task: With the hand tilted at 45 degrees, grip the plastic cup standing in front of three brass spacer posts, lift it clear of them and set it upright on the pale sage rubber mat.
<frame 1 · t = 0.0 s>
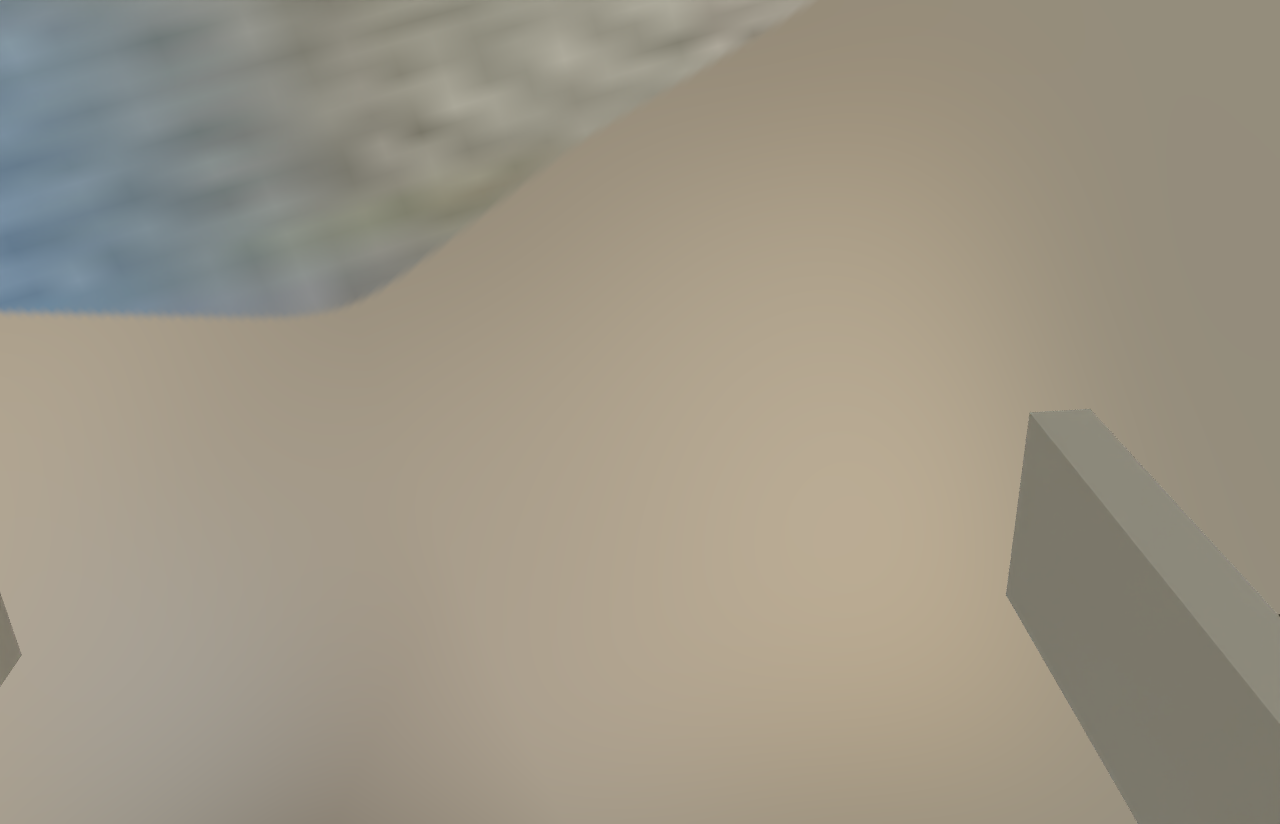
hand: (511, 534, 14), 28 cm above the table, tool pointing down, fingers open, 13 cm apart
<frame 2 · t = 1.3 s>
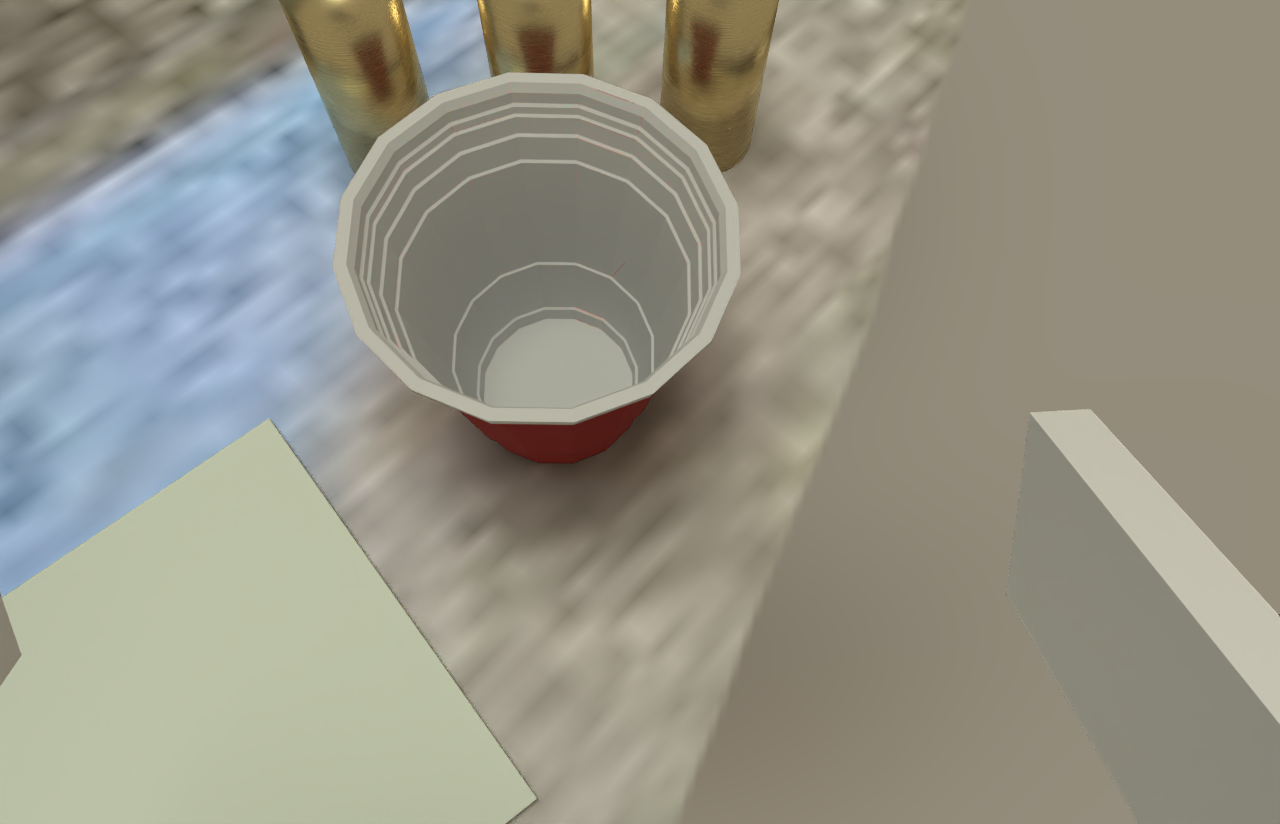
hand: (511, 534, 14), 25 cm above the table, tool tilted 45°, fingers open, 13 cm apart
plastic cup: (560, 384, 42), on the table
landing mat: (192, 751, 37), on the table
spacer posts: (549, 139, 44), on the table
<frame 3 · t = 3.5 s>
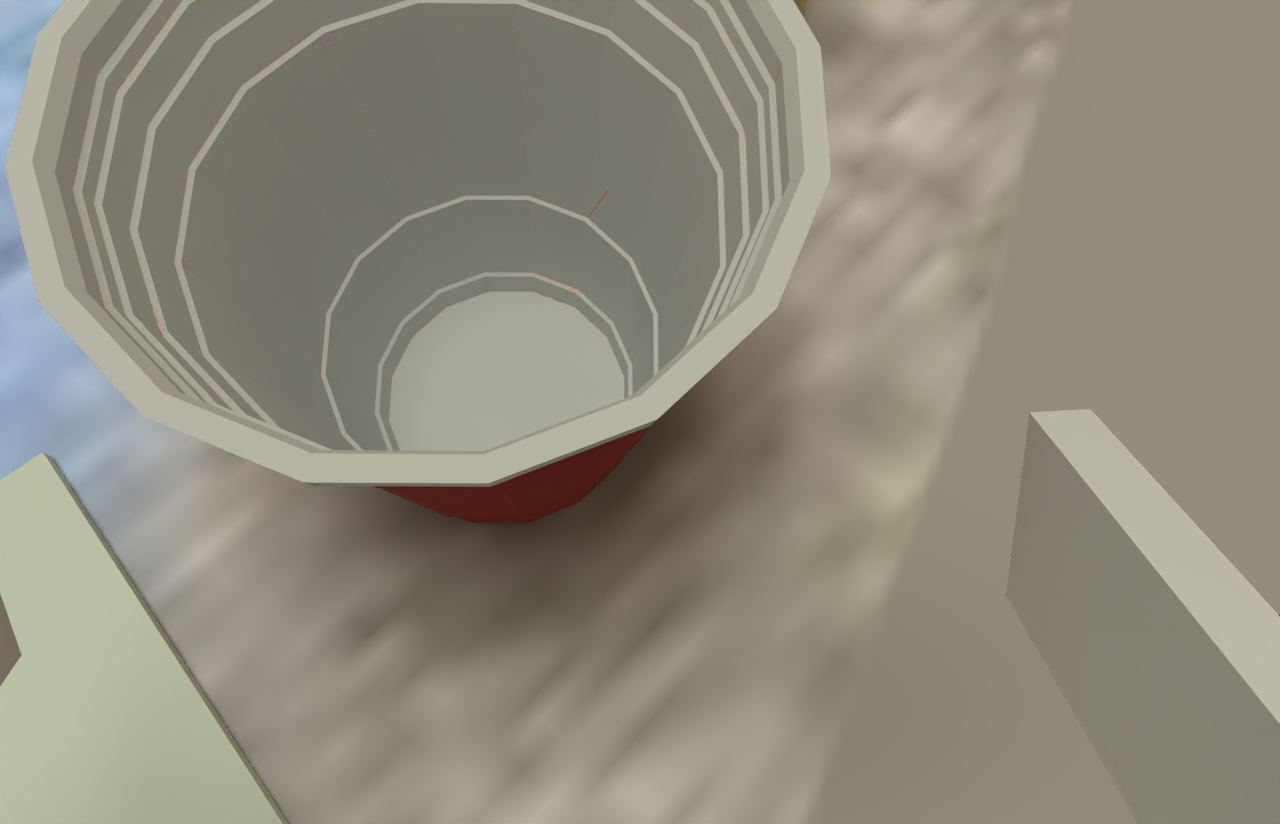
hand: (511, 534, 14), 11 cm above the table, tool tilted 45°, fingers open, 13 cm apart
plastic cup: (511, 394, 26), on the table
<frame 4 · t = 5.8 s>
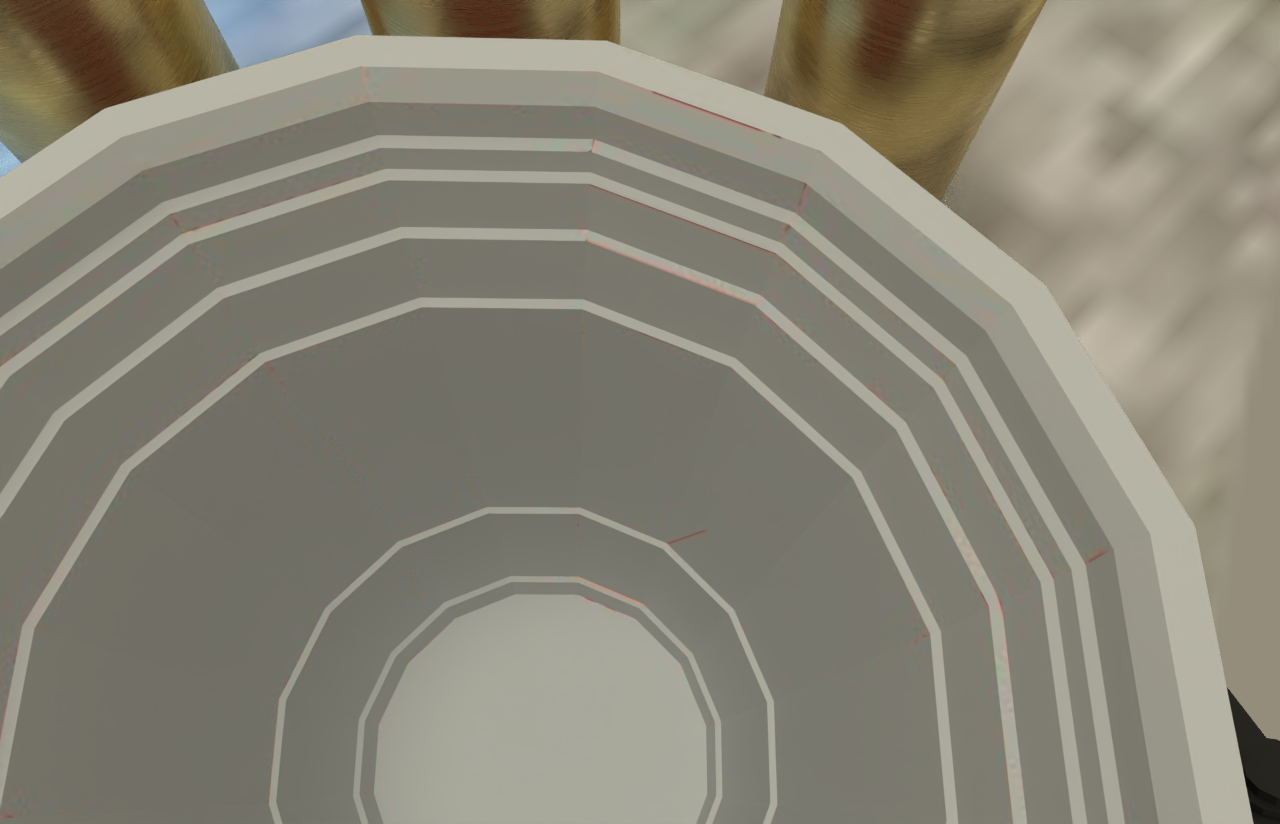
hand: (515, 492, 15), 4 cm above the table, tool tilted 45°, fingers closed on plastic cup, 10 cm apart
plastic cup: (546, 745, 19), on the table, touching gripper
spacer posts: (526, 197, 22), on the table
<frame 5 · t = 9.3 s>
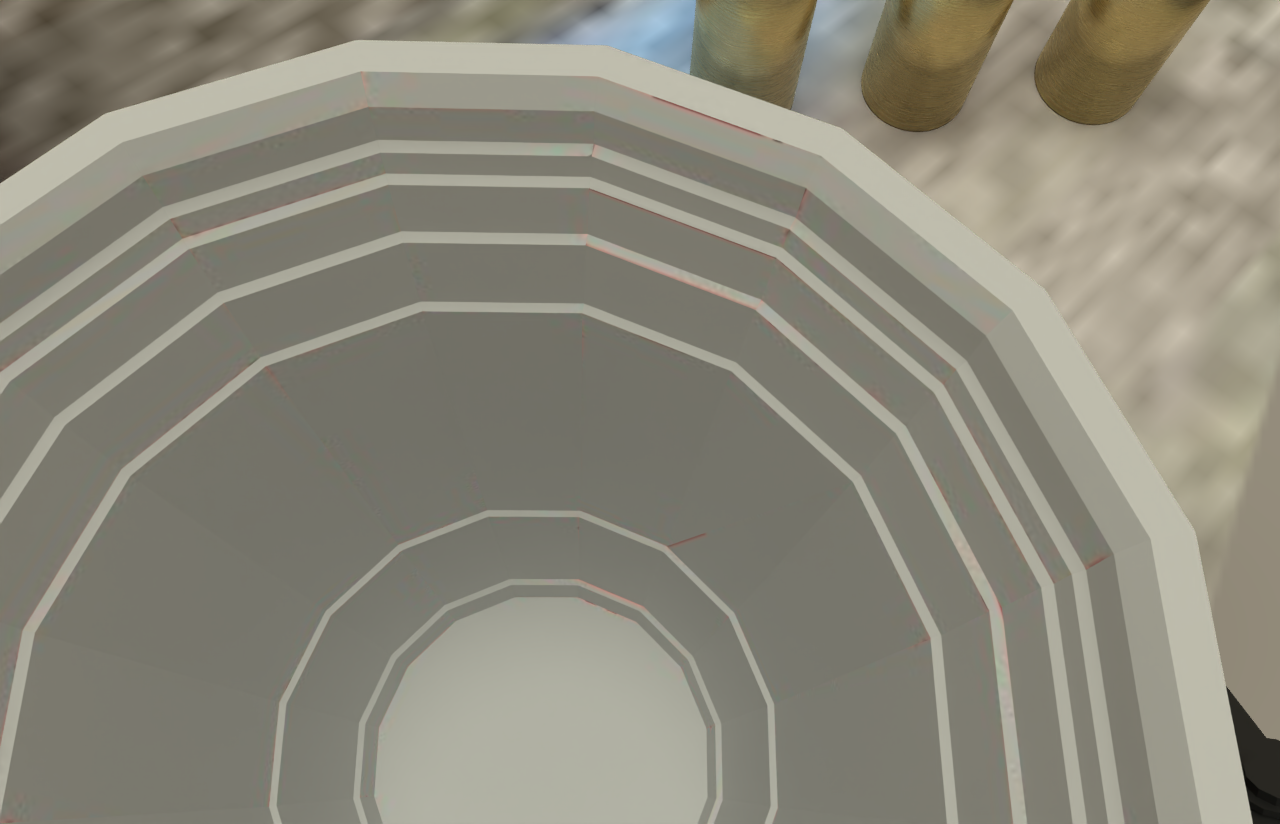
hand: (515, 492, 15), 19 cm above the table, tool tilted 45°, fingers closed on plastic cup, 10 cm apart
plastic cup: (546, 748, 19), point 14 cm above the table, touching gripper
spacer posts: (913, 85, 40), on the table
when the fingers open (6 cm above the table, at t = 12.7 s): plastic cup moves 3 cm, resting on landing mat.
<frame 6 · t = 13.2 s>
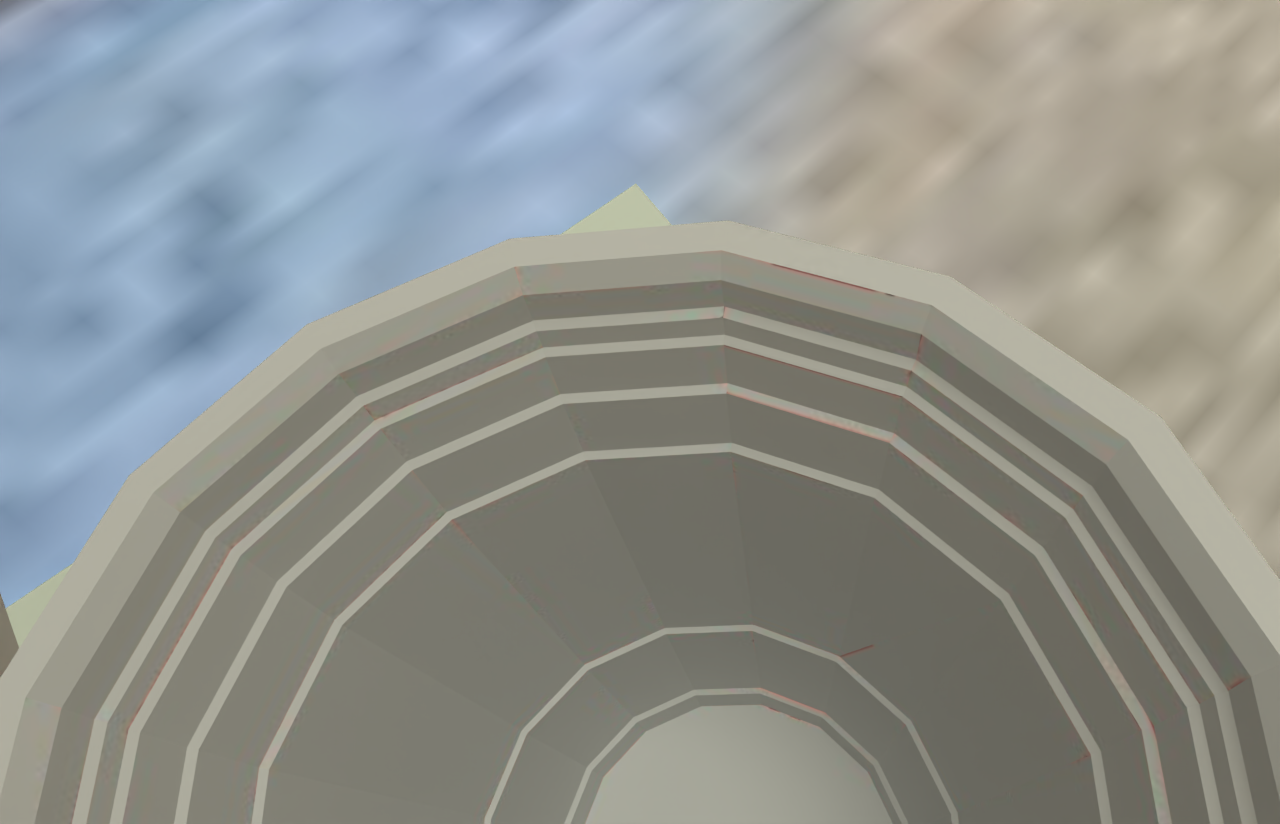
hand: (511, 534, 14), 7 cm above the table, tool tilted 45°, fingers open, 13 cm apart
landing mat: (553, 749, 20), on the table
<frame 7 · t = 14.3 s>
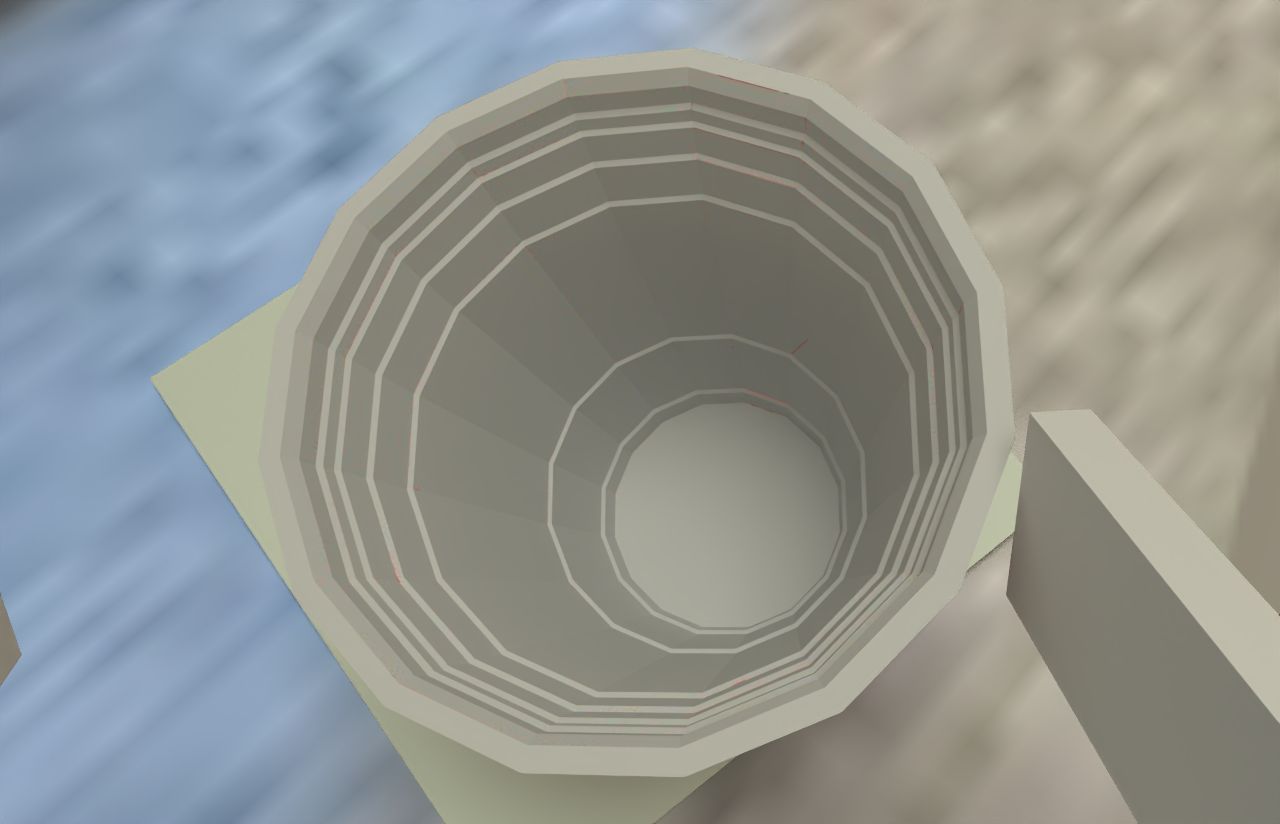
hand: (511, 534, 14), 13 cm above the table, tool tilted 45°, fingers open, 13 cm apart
plastic cup: (729, 505, 27), point 1 cm above the table, touching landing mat
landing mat: (596, 442, 29), on the table
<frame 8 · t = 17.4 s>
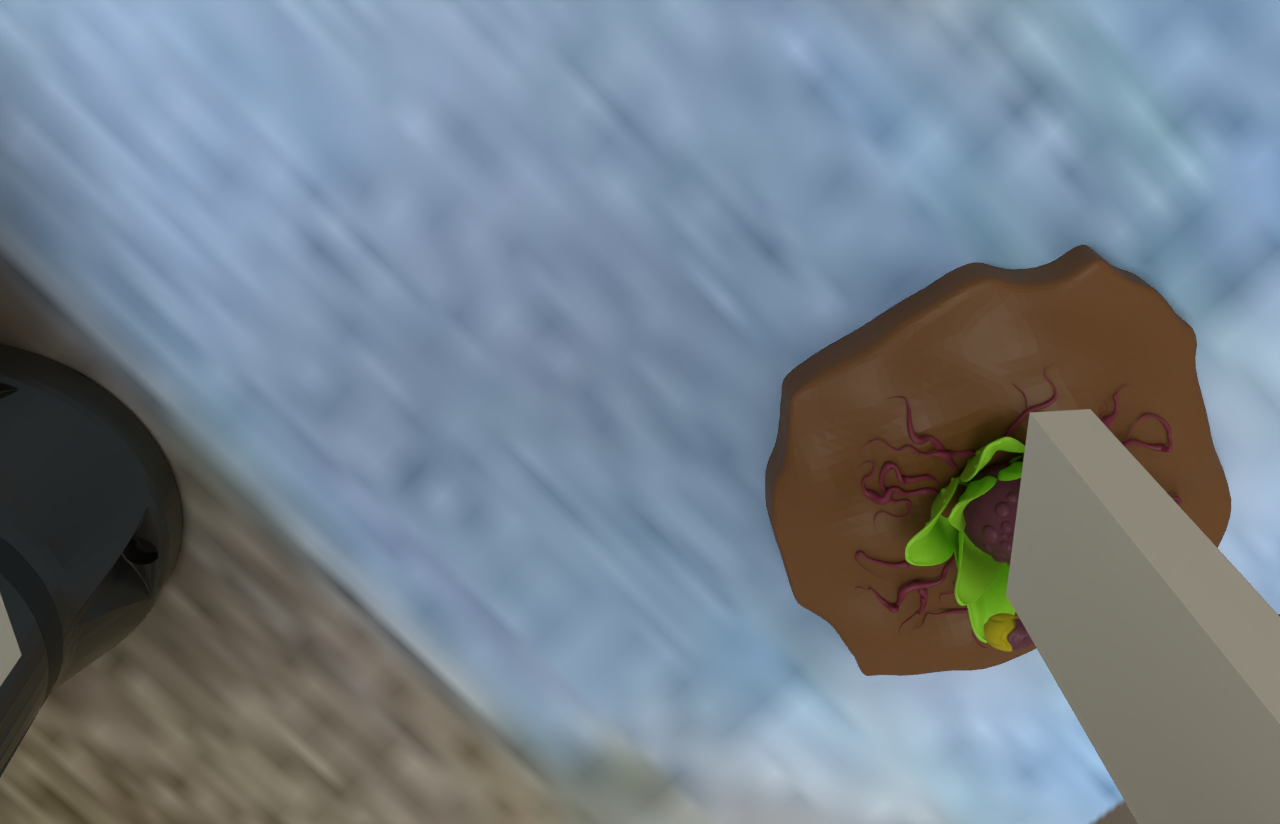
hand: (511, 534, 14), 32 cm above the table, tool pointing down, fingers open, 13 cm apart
plant: (977, 468, 52), on the table
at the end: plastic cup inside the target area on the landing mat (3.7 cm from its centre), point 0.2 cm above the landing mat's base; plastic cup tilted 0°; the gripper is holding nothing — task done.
